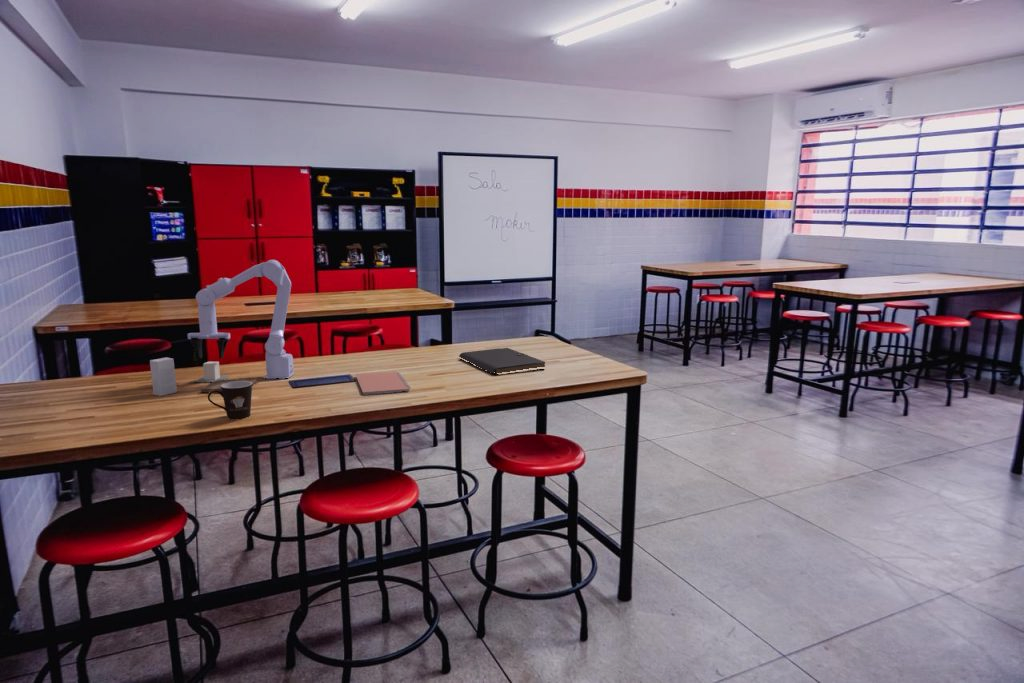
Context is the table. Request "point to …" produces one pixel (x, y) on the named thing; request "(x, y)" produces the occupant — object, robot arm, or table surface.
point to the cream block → (211, 370)
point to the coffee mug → (235, 399)
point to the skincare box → (163, 376)
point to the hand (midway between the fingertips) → (210, 358)
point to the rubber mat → (210, 380)
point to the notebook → (382, 383)
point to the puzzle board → (217, 385)
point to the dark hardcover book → (501, 360)
